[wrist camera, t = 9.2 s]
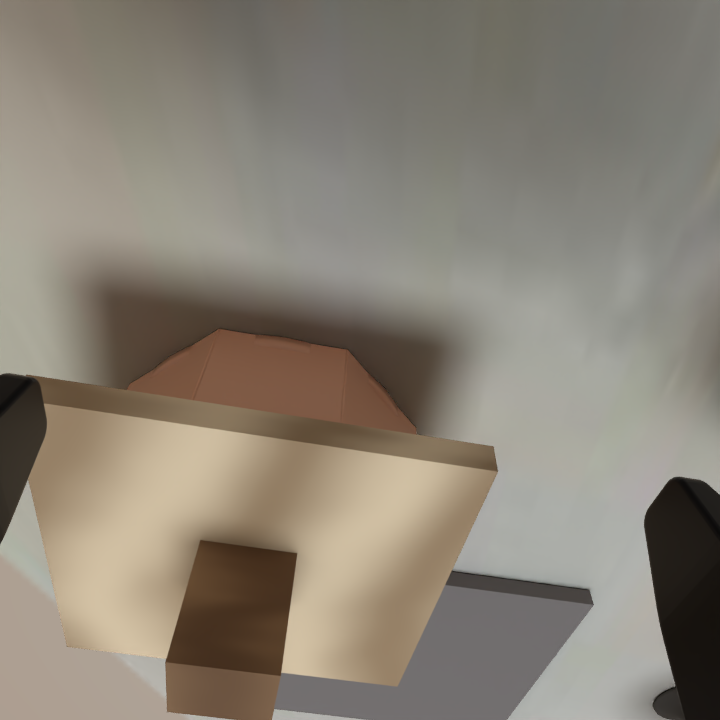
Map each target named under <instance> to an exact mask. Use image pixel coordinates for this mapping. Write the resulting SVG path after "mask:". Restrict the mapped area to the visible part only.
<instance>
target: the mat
mask: <svg viewBox="0 0 720 720" xmlns="http://www.w3.org/2000/svg"><path fill="white" fill-rule="evenodd" d="M593 605H594V604H593V601H592V597H591V594H590V590H582V589H575V588H568V587H560V586H553V585H545V584H538V583H531V582H523V581H516V580H509V579H501V578H494V577H487V576H479V575H472V574H465V573H457V572H451V573H450V575H449V578H448V580H447V582H446V584H445V586H444V588H443V590H442V593H441V595H440V597H439V599H438V601H437V603H436V605H435V608H434V610H433V612H432V614H431V616H430V618H429V620H428V623H427V625H426V627H425V629H424V631H423V633H422V635H421V638H420V640H419V642H418V644H417V646H416V648H415V650H414V653H413V655H412V657H411V659H410V661H409V663H408V665H407V668H406V670H405V672H404V674H403V676H402V678H401V680H400V682H399V685H398V687H396V686H388V685H380V684H371V683H363V682H355V681H346V680H338V679H330V678H322V677H313V676H305V675H297V674H288V673H281V678H280V682H279V687H278V692H277V697H276V702H275V706H274V709H279V710H288V711H297V712H305V713H314V714H323V715H331V716H340V717H349V718H357V719H366V720H507V719H508V717H509V716H510V715H511V713H512V712H513V711H514V710H515V708H516V707H517V706H518V704H519V703H520V702H521V700H522V699H523V698H524V696H525V695H526V694H527V692H528V691H529V690H530V688H531V687H532V686H533V684H534V683H535V682H536V680H537V679H538V678H539V677H540V675H541V674H542V673H543V671H544V670H545V669H546V667H547V666H548V665H549V663H550V662H551V661H552V659H553V658H554V657H555V655H556V654H557V653H558V651H559V650H560V649H561V647H562V646H563V645H564V644H565V642H566V641H567V640H568V638H569V637H570V636H571V634H572V633H573V632H574V630H575V629H576V628H577V626H578V625H579V624H580V622H581V621H582V620H583V618H584V617H585V616H586V614H587V613H588V612H589V611H590V609H591V608H592V607H593Z"/></svg>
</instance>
